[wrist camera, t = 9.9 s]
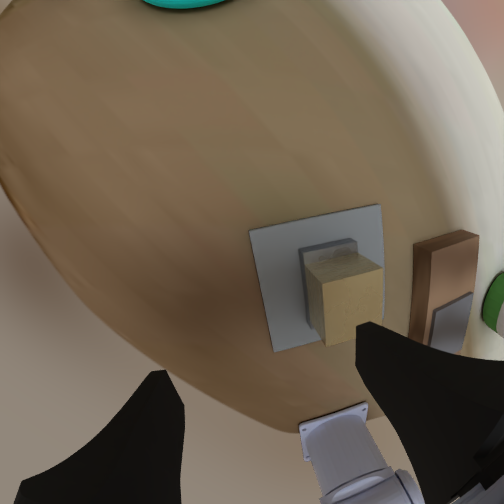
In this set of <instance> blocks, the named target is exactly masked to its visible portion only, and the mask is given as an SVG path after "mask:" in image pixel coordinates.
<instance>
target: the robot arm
mask: <svg viewBox="0 0 504 504" xmlns="http://www.w3.org/2000/svg"><path fill="white" fill-rule="evenodd" d="M355 366H356V368H357V370H358V372H359V374H360V376H361V378H362V380H363V382H364V384H365V386H366V387H367V389H368V390H369V392H370V393H371V395H372V396H373V398H374V399H375V401H376V402H377V403H378V405H379V406H380V408H381V409H382V411H383V412H384V414H385V415H386V416H387V418H388V419H389V421H390V422H391V424H392V425H393V427H394V429H395V430H396V432H397V434H398V436H399V438H400V440H401V442H402V444H403V446H404V448H405V450H406V453H407V455H408V457H409V459H410V462H411V464H412V466H413V469H414V471H415V474H416V477H417V480H418V482H419V485H420V488H421V491H422V494H421V492H420V490H419V488H418V486H417V484H416V483H415V481H414V479H413V478H412V476H411V475H410V474H409V473H408V471H406V470H401V469H398V470H396V471H395V473H394V471H393V470H392V468H391V466H389V467H388V466H387V463H386V462H385V460H384V458H383V456H382V454H381V452H380V451H379V449H378V447H377V445H376V443H375V442H374V440H373V438H372V436H371V434H370V432H369V431H368V429H367V427H366V425H365V423H366V417H367V410H368V404H367V402H363V403H361V404H358V405H356V406H353V407H350V408H347V409H345V410H342V411H339V412H336V413H333V414H330V415H327V416H324V417H321V418H317V419H314V420H311V421H307V422H303V423H301V424H300V425H299V431H300V437H301V444H302V450H303V457H304V461H306V462H308V461H311V462H312V465H313V468H314V471H315V474H316V477H317V480H318V483H319V486H320V489H321V492H322V495H323V497H321V498H320V502H321V504H450V503H451V502H453V501H454V500H456V499H457V498H458V497H460V498H459V499H458V500H456V501H455V502H454V503H452V504H504V361H497V360H485V359H477V358H470V357H465V356H461V355H456V354H452V353H448V352H445V351H441V350H438V349H435V348H433V347H430V346H427V345H424V344H422V343H419V342H417V341H414V340H412V339H409V338H407V337H405V336H402V335H400V334H398V333H396V332H394V331H391V330H389V329H387V328H385V327H383V326H380V325H378V324H376V323H374V322H371V321H369V322H366V323H363V324H360V325H357V326H356V362H355ZM184 413H185V412H184V404H183V402H182V400H181V398H180V397H179V395H178V393H177V391H176V389H175V387H174V385H173V383H172V381H171V379H170V377H169V375H168V373H167V371H166V370H159V371H152V372H150V373H149V375H148V376H147V377H146V378H145V379H144V381H143V382H142V383H141V385H140V386H139V387H138V389H137V390H136V391H135V392H134V393H133V395H132V396H131V397H130V398H129V400H128V401H127V402H126V403H125V405H124V406H123V407H122V408H121V410H120V411H119V412H118V413H117V414H116V415H115V416H114V417H113V419H112V420H111V421H110V422H109V423H108V424H107V426H105V427H104V428H103V429H102V431H100V432H99V433H98V434H97V435H96V436H95V437H94V438H93V439H92V440H91V441H90V442H88V443H87V444H86V445H85V446H84V447H82V448H81V449H80V450H78V451H77V452H75V453H74V454H73V455H71V456H70V457H69V458H67V459H66V460H64V461H63V462H61V463H59V464H58V465H56V466H54V467H52V468H50V469H49V470H47V471H45V472H42V473H40V474H38V475H35V476H33V477H30V478H28V479H25V480H23V481H22V482H21V484H20V487H19V490H18V492H17V495H16V498H15V501H14V504H181V489H180V473H181V462H182V452H183V442H184V432H185V414H184ZM422 495H423V496H422ZM423 498H424V499H423Z"/></svg>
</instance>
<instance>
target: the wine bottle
mask: <svg viewBox="0 0 504 504" xmlns="http://www.w3.org/2000/svg"><path fill="white" fill-rule="evenodd" d="M483 319H484V321H485V323H486V325H487V326H488V327H489V328H491V329H492V330H494V331H495V332H496V333H498V334H499V335H500V336H502V337H503V338H504V273H502V274H500V275H499V276H498V277H497V278H496V279H495V281H494V282H493V284H492V285H491V287H490V289H489V291H488V294H487V296H486V299H485V302H484V307H483Z"/></svg>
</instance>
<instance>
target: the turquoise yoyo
mask: <svg viewBox="0 0 504 504" xmlns="http://www.w3.org/2000/svg"><path fill="white" fill-rule="evenodd" d="M144 1H145V2H147V3H150V4H152V5H156V6H159V7H165V8H175V9H185V8H196V7H202V6H207V5H212V4H215V3H219V2H221V1H224V0H144Z"/></svg>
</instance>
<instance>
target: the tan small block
mask: <svg viewBox="0 0 504 504" xmlns="http://www.w3.org/2000/svg"><path fill="white" fill-rule="evenodd" d="M298 252H299V259H300V267H301V275H302V284H303V293H304V302H305V311H306V321H307V324H308V325H309V327H310V329H311V330H313V329H315V330H316V331H317V333H318V335H319V336H320V338H321V340H322V341H323V343H324V345H325V346H326V347H328V346H332V345H335V344H339V343H342V342H345V341H348V340H351V339H355V338H356V326H357V325H360V324H363V323H366V322H369V321H371V322H374V323H376V324H378V325H380V326H381V325H382V307H383V268H382V267H381V266H379V265H378V264H376V263H374V262H373V261H371V260H369V259H368V258H366V257H365V256H363V255H361V254H360V253H358V244H357V241H355V240H353V239H352V238H346V239H341V240H336V241H331V242H327V243H322V244H317V245H312V246H307V247H303V248H298Z"/></svg>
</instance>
